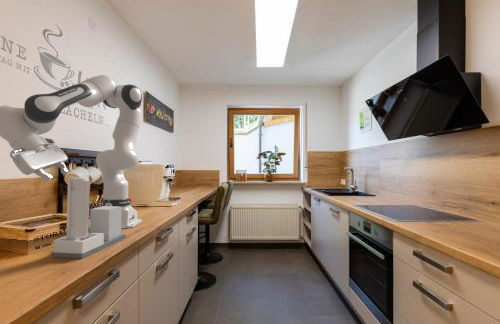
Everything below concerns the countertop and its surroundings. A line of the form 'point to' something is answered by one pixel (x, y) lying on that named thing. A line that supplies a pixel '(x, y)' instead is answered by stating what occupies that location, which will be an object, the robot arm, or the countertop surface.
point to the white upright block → (78, 209)
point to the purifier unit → (93, 234)
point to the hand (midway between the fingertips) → (58, 176)
